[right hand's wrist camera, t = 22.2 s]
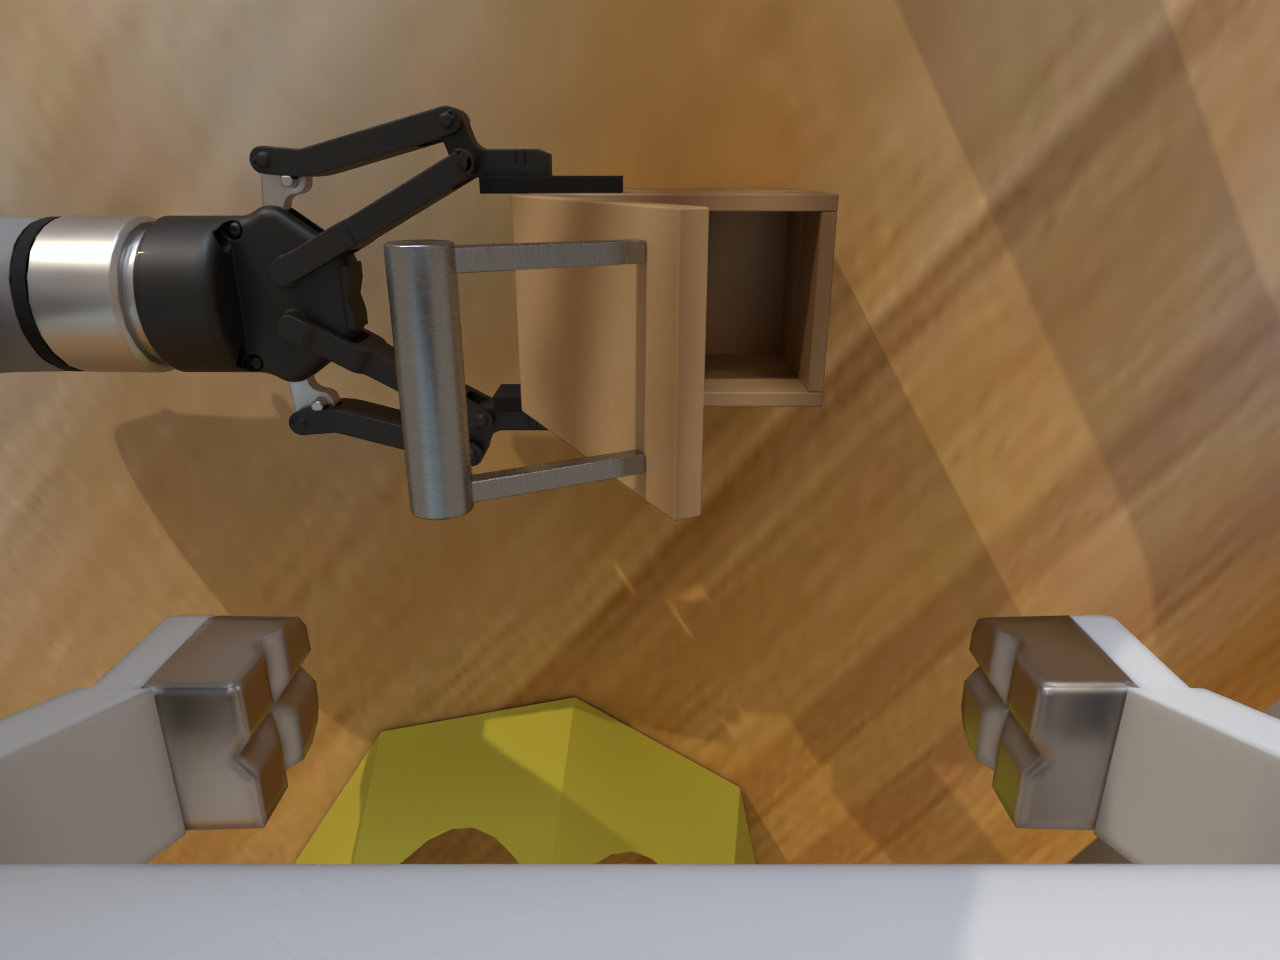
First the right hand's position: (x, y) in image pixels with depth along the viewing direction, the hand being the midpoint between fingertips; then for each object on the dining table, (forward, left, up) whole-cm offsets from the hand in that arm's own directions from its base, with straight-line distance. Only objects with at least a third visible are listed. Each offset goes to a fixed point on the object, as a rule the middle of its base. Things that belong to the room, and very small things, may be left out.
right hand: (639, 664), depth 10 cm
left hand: (0, +1, -33) cm, 33 cm away
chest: (-1, -1, -40) cm, 40 cm away
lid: (+1, +1, -23) cm, 23 cm away
